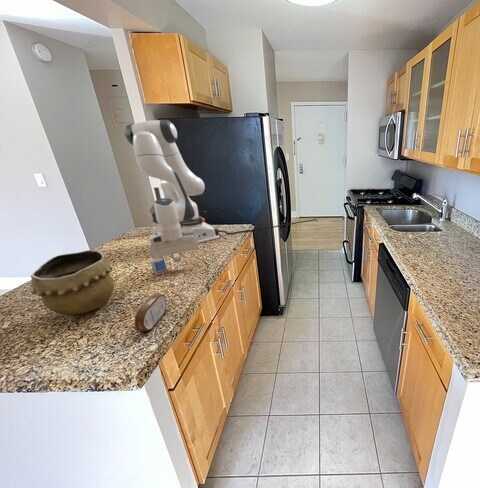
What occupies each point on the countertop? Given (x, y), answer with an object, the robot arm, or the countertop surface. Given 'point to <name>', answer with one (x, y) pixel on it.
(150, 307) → the brown oval clock
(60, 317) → the countertop surface
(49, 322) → the countertop surface
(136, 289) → the countertop surface
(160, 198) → the bottle
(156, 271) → the pill bottle
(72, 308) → the clay pot
